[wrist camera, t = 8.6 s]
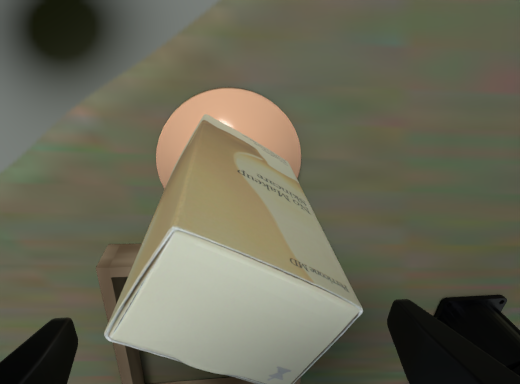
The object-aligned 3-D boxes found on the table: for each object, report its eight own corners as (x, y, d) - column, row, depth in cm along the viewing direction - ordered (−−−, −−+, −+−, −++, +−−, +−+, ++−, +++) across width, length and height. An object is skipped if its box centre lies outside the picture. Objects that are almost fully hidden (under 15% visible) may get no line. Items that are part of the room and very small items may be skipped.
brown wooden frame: (313, 239, 24) (323, 260, 21) (290, 377, 31) (296, 403, 29) (108, 244, 22) (95, 268, 19) (136, 390, 29) (130, 419, 27)
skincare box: (290, 160, 20) (379, 313, 9) (254, 212, 21) (293, 399, 10) (199, 107, 17) (169, 223, 7) (166, 169, 19) (97, 347, 8)
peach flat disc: (306, 90, 19) (309, 92, 18) (290, 217, 23) (293, 223, 22) (151, 83, 17) (148, 85, 17) (164, 219, 21) (162, 225, 21)
